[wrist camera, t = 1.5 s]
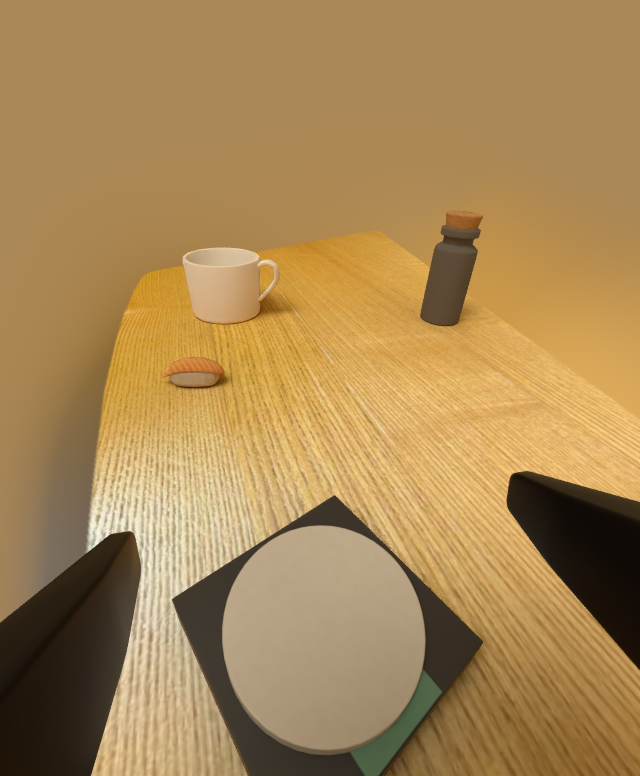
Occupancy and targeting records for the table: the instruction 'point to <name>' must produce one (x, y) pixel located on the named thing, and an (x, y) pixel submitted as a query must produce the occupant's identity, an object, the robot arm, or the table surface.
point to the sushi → (194, 372)
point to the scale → (323, 648)
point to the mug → (226, 284)
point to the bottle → (451, 268)
